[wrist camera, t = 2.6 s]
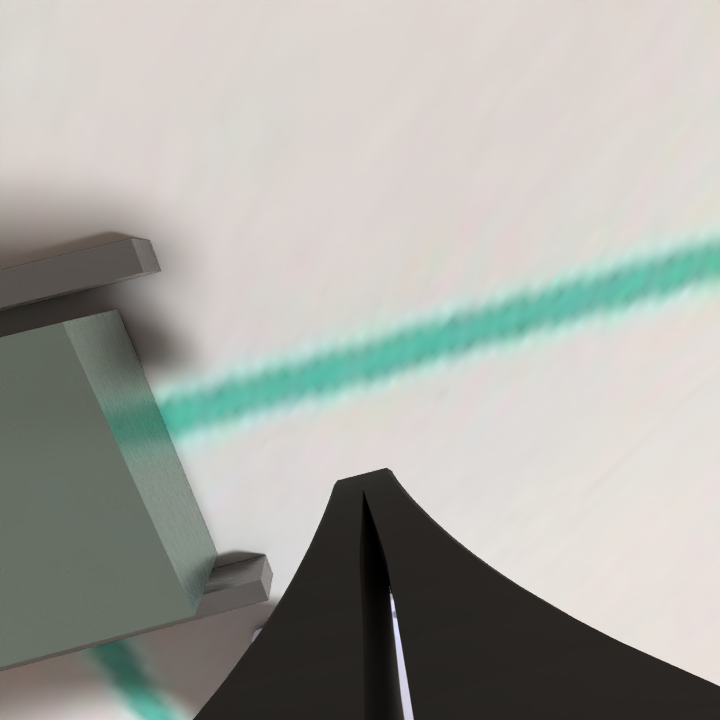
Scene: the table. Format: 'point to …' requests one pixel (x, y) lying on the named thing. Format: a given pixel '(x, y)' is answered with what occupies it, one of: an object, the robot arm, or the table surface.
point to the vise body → (94, 270)
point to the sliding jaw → (89, 495)
